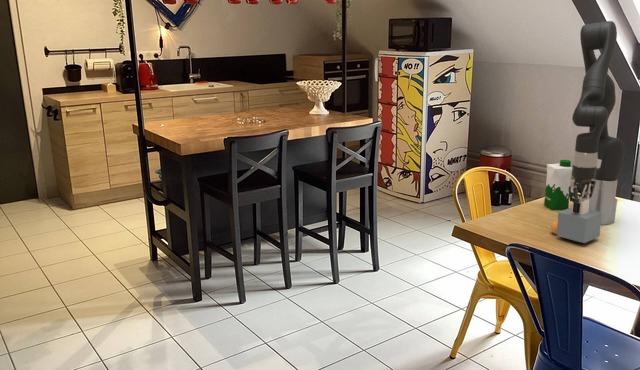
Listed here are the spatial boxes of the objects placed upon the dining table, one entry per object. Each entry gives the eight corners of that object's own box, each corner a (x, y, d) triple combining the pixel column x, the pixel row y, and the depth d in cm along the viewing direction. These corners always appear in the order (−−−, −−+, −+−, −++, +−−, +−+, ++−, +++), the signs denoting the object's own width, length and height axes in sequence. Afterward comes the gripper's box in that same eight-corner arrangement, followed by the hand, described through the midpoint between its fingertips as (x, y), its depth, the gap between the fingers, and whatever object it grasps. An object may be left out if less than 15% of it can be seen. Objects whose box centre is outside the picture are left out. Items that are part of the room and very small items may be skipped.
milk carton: (571, 210, 228) (576, 163, 222) (550, 211, 227) (555, 164, 222) (560, 203, 236) (565, 158, 231) (540, 204, 235) (544, 159, 230)
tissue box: (572, 229, 204) (574, 193, 200) (599, 236, 196) (603, 198, 192) (556, 235, 198) (559, 198, 194) (584, 243, 190) (587, 204, 186)
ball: (565, 231, 204) (557, 220, 206) (570, 227, 199) (561, 216, 201) (554, 238, 203) (546, 226, 205) (558, 234, 199) (550, 223, 201)
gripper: (585, 158, 197) (580, 204, 202) (563, 165, 189) (558, 213, 193) (606, 162, 191) (600, 209, 196) (584, 169, 183) (578, 218, 188)
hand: (579, 211), depth 195 cm, fingers closed on tissue box, 4 cm apart
